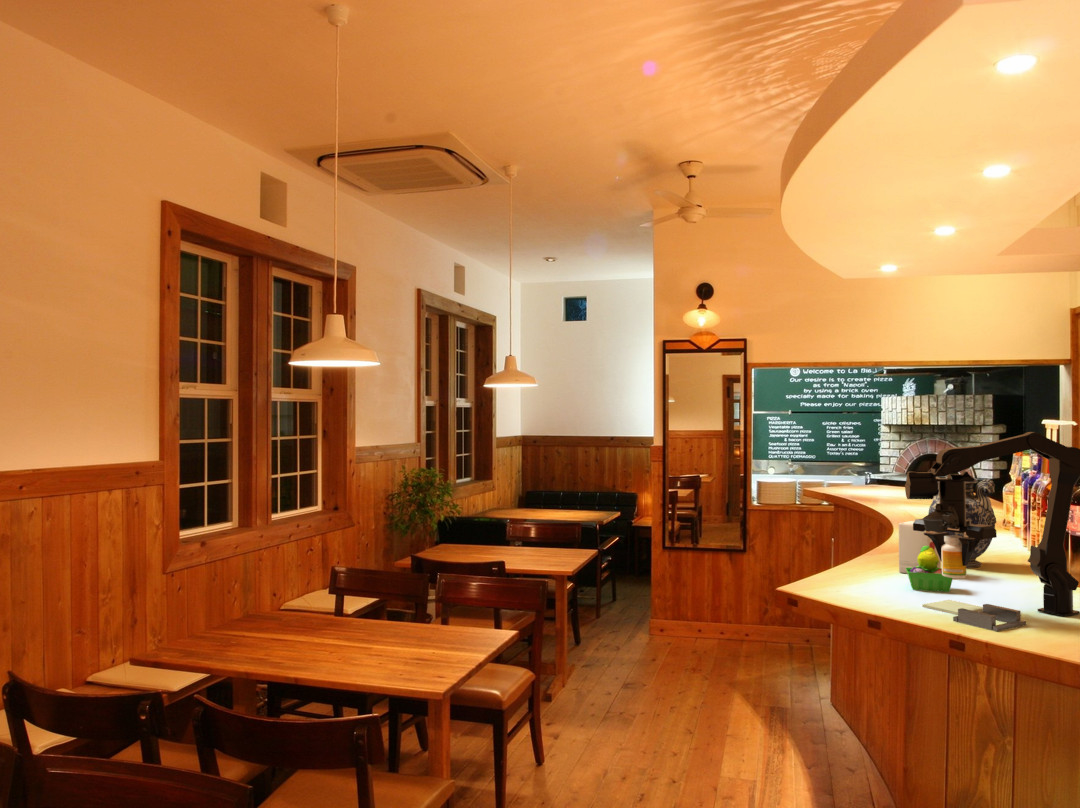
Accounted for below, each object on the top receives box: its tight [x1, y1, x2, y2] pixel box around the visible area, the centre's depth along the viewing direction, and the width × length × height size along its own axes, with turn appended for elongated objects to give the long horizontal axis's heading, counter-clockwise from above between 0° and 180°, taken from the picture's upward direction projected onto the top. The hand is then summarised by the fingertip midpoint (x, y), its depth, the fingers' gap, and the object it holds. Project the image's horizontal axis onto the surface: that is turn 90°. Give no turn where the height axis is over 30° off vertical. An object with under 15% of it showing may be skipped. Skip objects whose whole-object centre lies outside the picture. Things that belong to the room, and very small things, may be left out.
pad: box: [921, 599, 983, 616], centre depth 199 cm, size 10×10×1 cm
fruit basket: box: [906, 546, 954, 593], centre depth 222 cm, size 11×9×11 cm
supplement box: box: [898, 520, 942, 575], centre depth 244 cm, size 9×9×15 cm
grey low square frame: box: [952, 603, 1027, 632], centre depth 185 cm, size 10×10×3 cm
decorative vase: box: [927, 475, 997, 569], centre depth 256 cm, size 21×19×28 cm
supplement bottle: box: [941, 535, 967, 579], centre depth 199 cm, size 5×5×10 cm
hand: (953, 563), depth 199 cm, fingers closed on supplement bottle, 5 cm apart
